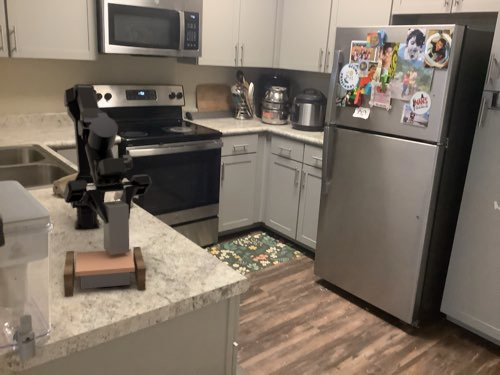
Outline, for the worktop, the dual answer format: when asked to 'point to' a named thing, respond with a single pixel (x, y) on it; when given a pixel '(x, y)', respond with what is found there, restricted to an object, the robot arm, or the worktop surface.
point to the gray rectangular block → (116, 227)
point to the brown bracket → (70, 271)
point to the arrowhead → (119, 194)
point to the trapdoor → (104, 268)
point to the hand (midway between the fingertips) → (117, 221)
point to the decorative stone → (62, 184)
